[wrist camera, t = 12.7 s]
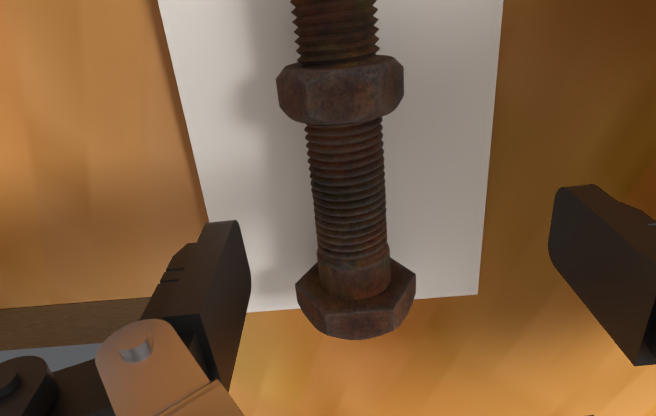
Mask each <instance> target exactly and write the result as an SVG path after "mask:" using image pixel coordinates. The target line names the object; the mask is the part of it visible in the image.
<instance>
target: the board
mask: <svg viewBox="0 0 656 416" xmlns="http://www.w3.org/2000/svg"><path fill="white" fill-rule="evenodd" d="M290 1H291V0H158V4H159V9H160V13H161V17H162V21H163V26H164V30H165V34H166V39H167V43H168V47H169V51H170V56H171V60H172V64H173V69H174V73H175V77H176V81H177V86H178V90H179V94H180V99H181V103H182V107H183V111H184V116H185V120H186V124H187V129H188V133H189V137H190V142H191V146H192V150H193V154H194V159H195V163H196V167H197V172H198V176H199V180H200V184H201V189H202V193H203V197H204V202H205V206H206V210H207V214H208V219H209V222H218V221H228V220H237V221H238V223H239V226H240V229H241V234H242V238H243V242H244V246H245V251H246V255H247V259H248V263H249V268H250V273H251V295H250V299H249V304H248V308H247V312H246V313H248V312H261V311H273V310H286V309H299V308H300V306H299V304H298V303H297V296H296V290H295V283H296V282H297V281H298V280H299V279H300V278H301V277H302V276H303V275H304V274H305V273H306V272H307V271H308V270H309V269H310V268H311V267H312V266H313V265H315V264H316V263H317V262H318V261H317V249H318V244H317V234H316V226H315V213H314V205H313V202H314V201H313V196H312V195H313V194H312V191H311V189H312V186H311V185H310V183H311V178H310V177H309V176H310V173H311V172H310V171H309V167H310V164H309V163H308V159H309V158H310V157H309V156H308V155H307V151H308V150H309V149H308V148H307V147H306V144H307V143H308V142H309V141H307V140H306V139H305V136H306V135H307V134H308V133H307V132H305V131H304V129H305V127H306V126H307V125H306V124H305V123H299V122H296V121H294V120H292V119H290V118H289V117H288V116H287V115H286V114H285V113H284V112H283V111H282V109H281V108H280V107H279V100H278V93H277V86H276V78H277V76H278V75H279V74H280V72H281V71H282V70H283V68H284V67H285V66H287V65H290V64H293V63H297V62H298V61H297V59H298V58H299V57H300V56H301V55H300V54H298V53H297V52H296V50H297V49H298V48H299V47H300V46H299V45H298V44H296V43H295V42H294V41H295V40H296V39H297V38H299V36H298V35H296V34H295V33H294V31H295V30H296V29H297V28H298V27H297V26H296V25H295V24H293V23H292V22H293V21H294V20H295V19H296V18H297V17H296V16H295V15H293V14H292V13H291V11H292V10H293V9H295V8H296V7H295V6H294V5H292V4H291V3H290ZM503 1H504V0H377V1H376V2H375V3H374V5H373V6H374V7H376V8H377V9H378V10H377V12H376V13H375V14H374V15H373V16H374V17H376V18H377V19H379V20H378V21H377V22H376V23H375V25H374V26H376V27H377V28H379V30H378V31H377V32H376V34H375V36H377V37H379V40H378V41H377V43H376V44H375V45H377V46H378V47H380V49H379V50H378V51H377V52H376V53H375V54H376V55H387V56H392V57H394V58H395V59H396V60H397V61H398V62H399V63H400V64H401V65H402V66H403V67H404V96H403V98H402V100H401V102H400V104H399V105H398V107H397V108H396V109H395V110H394V111H393V112H391V113H390V114H388V115H385V116H382V119H383V120H382V122H381V123H380V124H381V125H382V126H383V129H382V131H381V132H382V134H383V138H382V139H381V140H382V141H383V142H384V144H383V147H382V148H383V150H384V154H383V156H384V166H385V168H384V172H385V176H384V178H385V188H386V190H385V194H386V199H385V200H386V206H385V207H386V222H387V227H386V228H387V243H388V245H389V248H390V257H391V258H392V259H394V260H395V261H397V262H398V263H400V264H401V265H403V266H404V267H406V268H407V269H409V270H411V271H412V272H414V273H415V274H416V294H415V297H414V299H426V298H438V297H451V296H464V295H476V294H478V285H479V273H480V262H481V251H482V239H483V228H484V217H485V205H486V194H487V182H488V171H489V160H490V148H491V137H492V126H493V114H494V103H495V92H496V80H497V69H498V57H499V46H500V35H501V23H502V12H503Z"/></svg>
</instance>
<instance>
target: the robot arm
mask: <svg viewBox="0 0 656 416" xmlns="http://www.w3.org/2000/svg"><path fill="white" fill-rule="evenodd" d="M548 249H549V255H550V258H551V261H552V263H553V265H554V266H555V268H556V269H557V270H558V271H559V273H560V274H561V275H562V276H563V278H564V279H565V280H566V281H567V283H568V284H569V285H570V286H571V288H572V289H573V290H574V291H575V293H576V294H577V295H578V296H579V298H580V299H581V300H582V301H583V303H584V304H585V305H586V306H587V308H588V309H589V310H590V311H591V313H592V314H593V315H594V316H595V318H596V319H597V320H598V321H599V323H600V324H601V325H602V326H603V328H604V329H605V330H606V331H607V333H608V334H609V335H610V336H611V338H612V339H613V340H614V341H615V343H616V344H617V345H618V346H619V348H620V349H621V350H622V351H623V353H624V354H625V355H626V356H627V358H628V359H629V360H630V361H631V363H632V364H633V365H634V366H642V365H654V364H656V221H655V220H654V219H652V218H651V217H650V216H648V215H647V214H645V213H644V212H643V211H641V210H639V209H636V208H634V207H631V206H629V205H626V204H624V203H622V202H618V201H616V200H615V199H614V198H612V197H611V196H610V195H608V194H607V193H606V192H605V191H603V190H602V189H601V188H599V187H598V186H596V185H594V184H590V185H581V186H571V187H562V188H560V189H559V190H558V191H557V193H556V195H555V200H554V207H553V214H552V220H551V227H550V234H549V241H548ZM250 295H251V273H250V268H249V263H248V259H247V255H246V251H245V246H244V242H243V238H242V234H241V229H240V226H239V223H238V221H237V220H228V221H218V222H208V223H206V224H205V226H204V228H203V230H202V233H201V235H200V237H199V239H198V241H197V243H189V244H187V245H185V246H184V247H183V248H182V249H181V250H180V251H179V252H177V253H176V254H175V255H174V256H173V258H172V259H171V261H170V263H169V265H168V267H167V269H166V272H165V273H164V274H163V276H162V278H161V280H160V284H158V286H157V288H156V289H155V291H154V293H153V295H152V297H151V299H150V301H149V303H148V304H147V306H146V308H145V310H144V312H143V314H142V316H141V318H140V319H139V321H137V322H134V323H131V324H128V325H126V326H124V327H122V328H121V329H119V330H117V331H116V332H114V333H113V334H112V335H110V336H109V337H108V338H107V339H106V340H105V341H104V342H103V343H102V345H101V346H100V347H99V349H98V351H97V354H96V357H95V358H94V359H92V360H89V361H86V362H83V363H80V364H77V365H73V366H70V367H67V368H64V369H61V370H58V371H55V372H51V370H50V369H49V367H48V365H47V363H46V362H45V361H44V359H42V358H40V357H37V356H21V357H16V358H13V359H9V360H7V361H4V362H2V363H0V416H244V414H243V413H242V411H241V410H240V409H239V407H238V406H237V404H236V403H235V402H234V400H233V399H232V398H231V396H230V395H229V393H228V392H229V388H230V383H231V379H232V374H233V370H234V365H235V361H236V357H237V352H238V348H239V343H240V339H241V335H242V330H243V326H244V321H245V317H246V312H247V308H248V304H249V299H250ZM590 416H594V415H590Z"/></svg>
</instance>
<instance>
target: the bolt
mask: <svg viewBox="0 0 656 416" xmlns="http://www.w3.org/2000/svg"><path fill="white" fill-rule="evenodd" d="M376 1H377V0H291V1H290V3H291V4H292V5H294V6H295V7H296V8H295V9H293V10H292V11H291V13H292V14H293V15H295V16H296V17H297V18H296V19H295V20H294V21H293V22H292V23H293V24H295V25H296V26H297V27H298V28H297V29H296V30H295V31H294V33H295V34H296V35H298V36H299V38H297V39H296V40H295V41H294V42H295V43H296V44H298V45H299V46H300V47H299V48H298V49H297V50H296V52H297V53H298V54H300V55H301V56H300V57H299V58H298V59H297V61H298V62H297V63H293V64H290V65H287V66H285V67H284V68H283V70H282V71H281V72H280V74H279V75H278V76H277V78H276V86H277V93H278V100H279V107H280V108H281V109H282V111H283V112H284V113H285V114H286V115H287V116H288V117H289V118H290V119H292V120H294V121H296V122H299V123H305V124H306V125H307V126H306V127H305V129H304V131H305V132H307V133H308V134H307V135H306V136H305V139H306V140H307V141H309V142H308V143H307V144H306V147H307V148H308V149H309V150H308V151H307V155H308V156H309V157H310V158H309V159H308V163H309V164H310V167H309V171H310V172H311V173H310V176H309V177H310V178H311V183H310V185H311V186H312V189H311V191H312V194H313V195H312V196H313V201H314V202H313V205H314V213H315V226H316V234H317V244H318V249H317V261H318V262H317V263H316V264H315V265H313V266H312V267H311V268H310V269H309V270H308V271H307V272H306V273H305V274H304V275H303V276H302V277H301V278H300V279H299V280H298V281H297V282H296V283H295V290H296V296H297V303H298V304H299V306H300V308H301V309H302V311H303V313H304V314H305V316H306V317H307V318H308V320H309V321H310V322H311V323H312V324H313V326H314V327H315V328H316V329H317V330H319V331H320V332H322V333H324V334H326V335H328V336H333V337H337V338H341V339H348V340H362V339H370V338H373V337H377V336H381V335H383V334H385V333H388V332H390V331H393V330H395V329H396V328H397V327H399V326H400V324H401V323H402V322H403V320H404V319H405V317H406V316H407V314H408V312H409V310H410V308H411V305H412V303H413V300H414V297H415V294H416V274H415V273H414V272H412V271H411V270H409V269H407V268H406V267H404V266H403V265H401V264H400V263H398V262H397V261H395V260H394V259H392V258H391V257H390V248H389V245H388V243H387V228H386V227H387V222H386V207H385V206H386V200H385V199H386V194H385V190H386V188H385V178H384V176H385V172H384V168H385V166H384V156H383V154H384V150H383V148H382V147H383V144H384V142H383V141H382V140H381V139H382V138H383V134H382V132H381V131H382V129H383V126H382V125H381V124H380V123H381V122H382V120H383V119H382V116H385V115H388V114H390V113H391V112H393V111H394V110H395V109H396V108H397V107H398V105H399V104H400V102H401V100H402V98H403V96H404V67H403V66H402V65H401V64H400V63H399V62H398V61H397V60H396V59H395V58H394V57H392V56H387V55H376V54H375V53H376V52H377V51H378V50H379V49H380V47H378V46H377V45H375V44H376V43H377V41H378V40H379V37H377V36H375V34H376V32H377V31H378V30H379V28H377V27H376V26H374V25H375V23H376V22H377V21H378V20H379V19H377V18H376V17H374V16H373V15H374V14H375V13H376V12H377V10H378V9H377V8H376V7H374V6H373V5H374V3H375V2H376Z"/></svg>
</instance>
